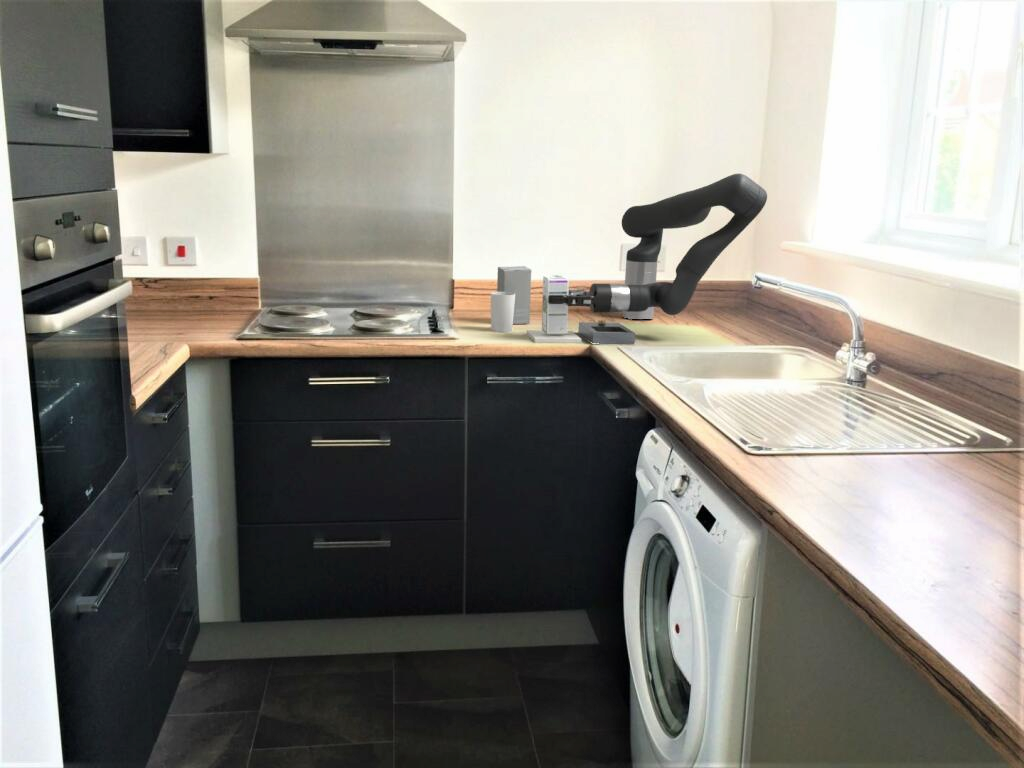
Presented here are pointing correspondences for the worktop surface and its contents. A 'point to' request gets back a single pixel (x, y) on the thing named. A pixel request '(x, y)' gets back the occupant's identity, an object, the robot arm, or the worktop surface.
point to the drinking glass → (502, 311)
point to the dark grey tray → (606, 332)
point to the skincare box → (517, 290)
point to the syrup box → (554, 305)
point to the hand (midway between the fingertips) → (546, 297)
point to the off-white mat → (553, 337)
